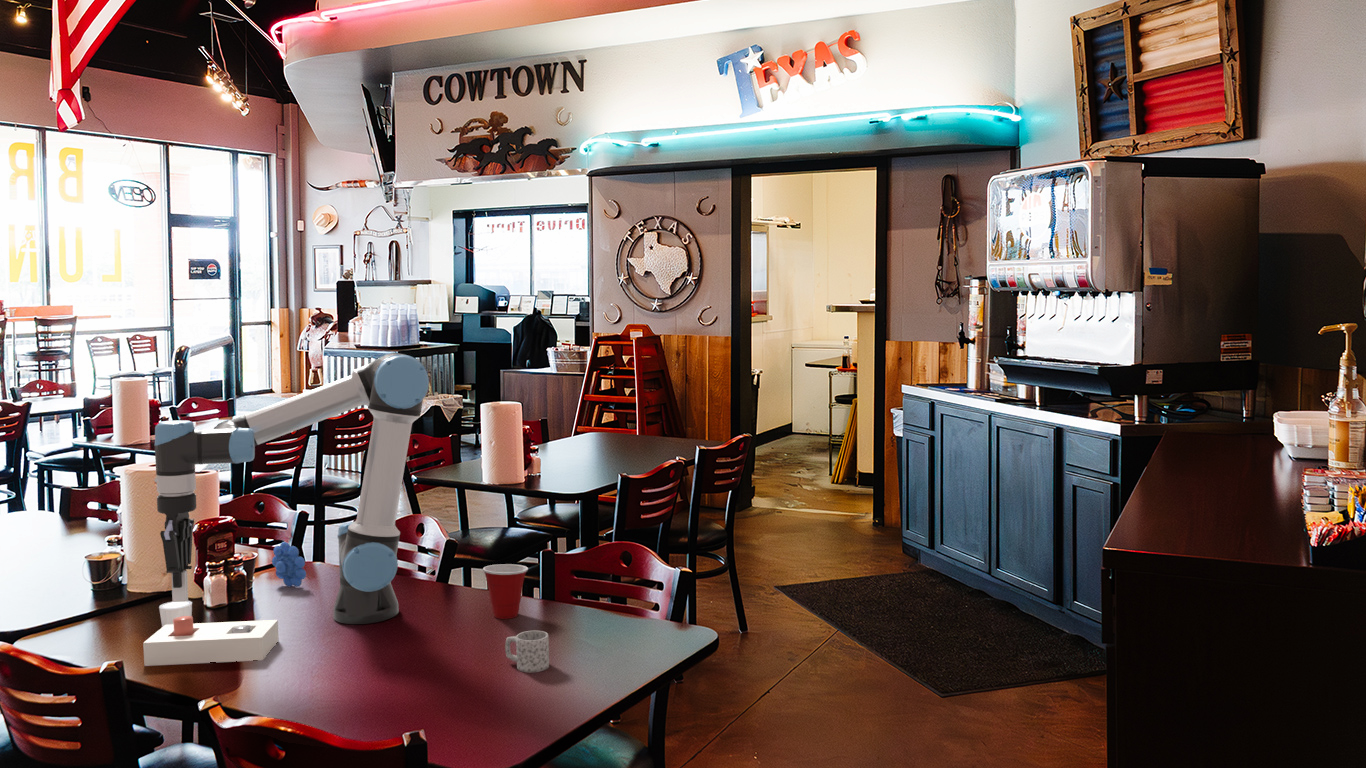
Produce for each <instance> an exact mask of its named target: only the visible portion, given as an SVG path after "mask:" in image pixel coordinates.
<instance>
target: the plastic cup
mask: <svg viewBox="0 0 1366 768" xmlns="http://www.w3.org/2000/svg"><path fill="white" fill-rule="evenodd" d="M528 570H529V567H527V566H526V565H522V564H514V563H513V564H512V563H505V564H501V563H500V564H498V563H497V564H492V565H491V564H490V565H487V566H484V567H483V568H482V571H483V572H484V575H485V578H486V582H487V588H488V589H487V590H488V594H489V599H490V604H491V609H492V613H493V617H495V618H496V619H498V620H500V619H501V620H508V619H513V618H516V617H518V615H519V611H520V605H521V600H522V599H521V598H522V592H523V585H524V582H525V577H526V573H527V572H528Z"/></svg>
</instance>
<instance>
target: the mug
mask: <svg viewBox="0 0 1366 768" xmlns="http://www.w3.org/2000/svg"><path fill="white" fill-rule="evenodd" d="M549 636H550V635H549V633H548V632H546V631H544V630H527V631H522V632H520V633H518V634H517V635H515V636H514V635H513V636H508V637H506V638H505V639H506V640H505V644H504V648H505V655H506V658H508V659H509V660H511V661H512V662H515V663H516V669H517V670H518V671H520V672H522V673H528V674H529V673H532V674H533V673H540V672H542V671H545V670H547V669H549V668H550V647H549V646H550V643H549V641H550V640H549ZM512 642H513V643H515V644H516V648H515V649H516V655H515V654H513V653H512V652H511V643H512Z"/></svg>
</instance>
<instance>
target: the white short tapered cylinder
mask: <svg viewBox="0 0 1366 768" xmlns="http://www.w3.org/2000/svg"><path fill="white" fill-rule="evenodd" d="M158 609H159V614H160V621H161V628H162V627H163V626H165V625H170V624H173V619H175V618H177V617H182V616H193V615H192V614H193V613H192V612H193V601H191V600H187V601H186V602H172V601H168V602H165V603H162V604H160V605H159V607H158Z"/></svg>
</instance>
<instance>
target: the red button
mask: <svg viewBox="0 0 1366 768" xmlns="http://www.w3.org/2000/svg"><path fill="white" fill-rule="evenodd" d="M193 623H194V617H193V615H191V616H182V617H177V618H175V619H173V624H174V636H191V635H193V634H194V631H193Z"/></svg>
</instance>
